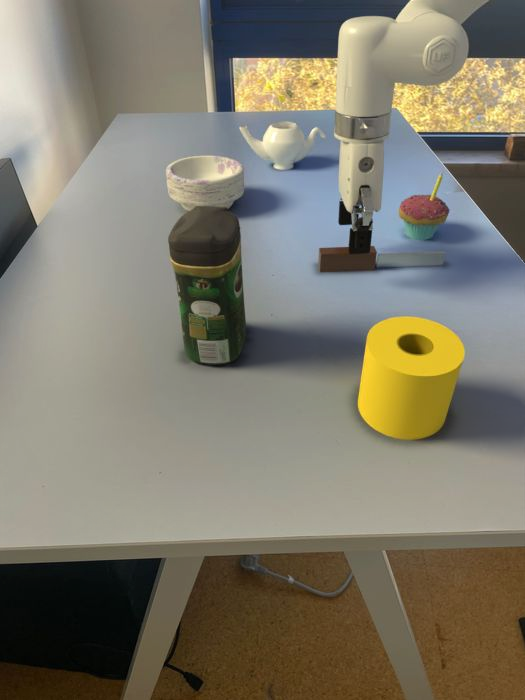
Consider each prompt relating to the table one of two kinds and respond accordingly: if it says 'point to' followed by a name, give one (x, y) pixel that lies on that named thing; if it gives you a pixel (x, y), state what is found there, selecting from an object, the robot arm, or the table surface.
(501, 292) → the table surface
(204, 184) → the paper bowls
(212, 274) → the coffee jar
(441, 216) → the cupcake
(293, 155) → the teapot
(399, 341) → the tape roll
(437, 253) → the knife
